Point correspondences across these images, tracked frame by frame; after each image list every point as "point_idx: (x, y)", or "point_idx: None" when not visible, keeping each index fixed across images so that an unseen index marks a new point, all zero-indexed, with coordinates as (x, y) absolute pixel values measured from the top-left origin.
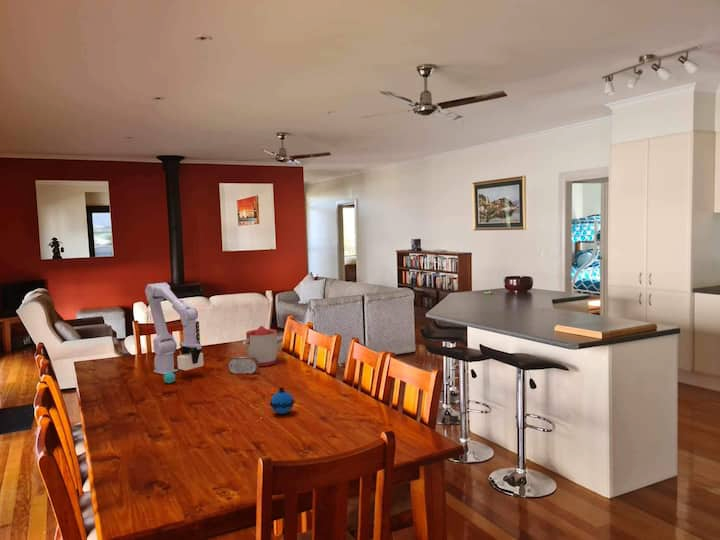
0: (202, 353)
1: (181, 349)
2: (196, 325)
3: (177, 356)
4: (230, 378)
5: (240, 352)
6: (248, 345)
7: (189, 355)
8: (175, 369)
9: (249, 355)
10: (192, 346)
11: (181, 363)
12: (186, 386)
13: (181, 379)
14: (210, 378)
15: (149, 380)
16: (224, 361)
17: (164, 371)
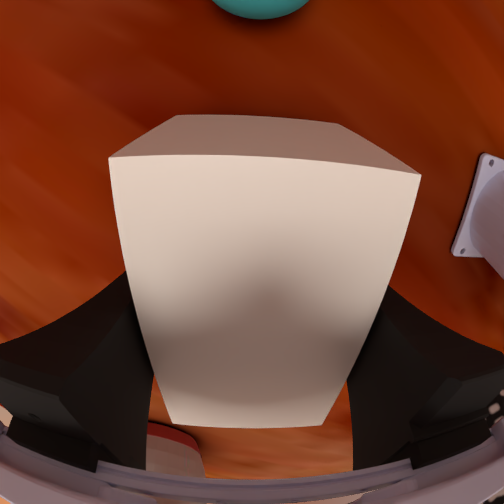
0: (172, 419)
1: (445, 370)
2: (485, 502)
3: (411, 171)
4: (32, 290)
5: (346, 456)
6: (151, 497)
7: (214, 320)
8: (470, 254)
9: (154, 458)
10: (21, 475)
11: (259, 127)
12: (58, 28)
13: (265, 104)
14: (96, 241)
15: (463, 8)
16: (325, 420)
17: (498, 178)
